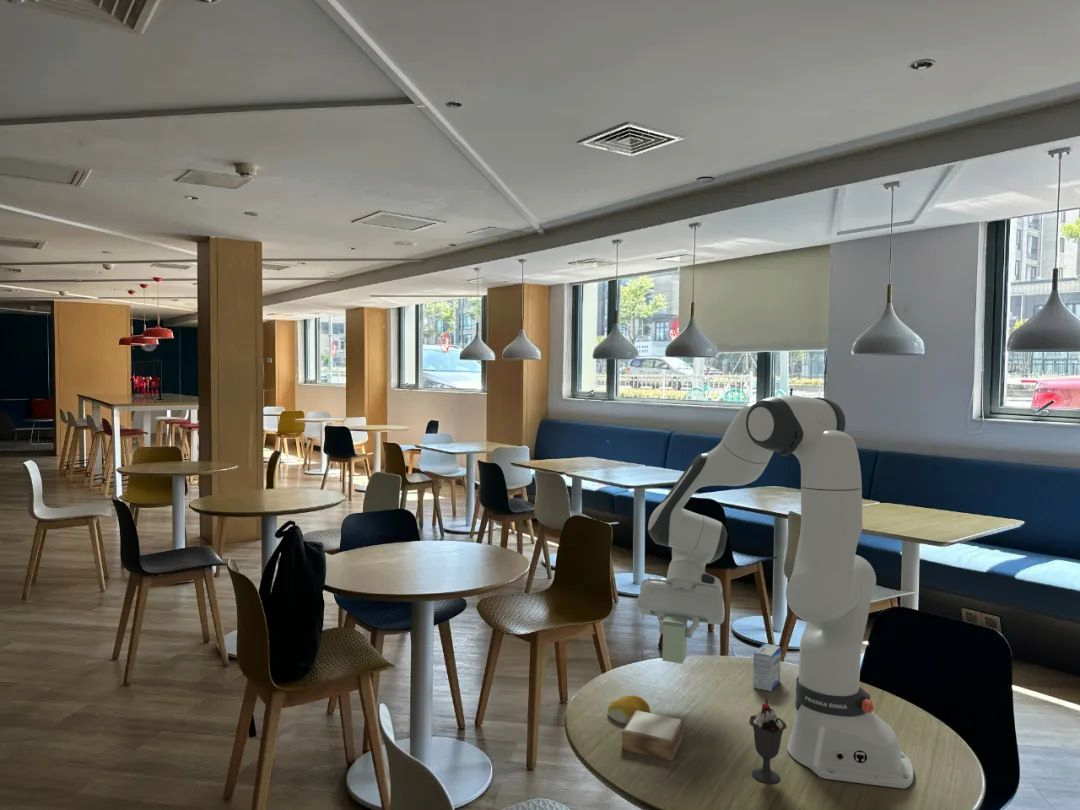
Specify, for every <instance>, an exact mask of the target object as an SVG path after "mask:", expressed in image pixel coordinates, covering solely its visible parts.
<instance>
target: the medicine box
mask: <svg viewBox="0 0 1080 810" xmlns="http://www.w3.org/2000/svg"><path fill="white" fill-rule="evenodd" d="M781 653H782V647H781V646H777V645H774V644H769V643H763V644H762V645H761V646H760V647H759V648H758V649H757V650H755V652H753V669H752V670H753V673H752V675H753V676H752V680H753V681H752V687H753V689H757V690H761V689H762V691H765V690H767V691H766V692H769V691H771V692H772V691H773V690H774V689H775V687H776V686H777V685H778V684H779V682H780V681H781V655H782V654H781ZM773 688H774V689H773Z"/></svg>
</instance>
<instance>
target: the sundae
mask: <svg viewBox="0 0 1080 810" xmlns="http://www.w3.org/2000/svg"><path fill="white" fill-rule="evenodd" d="M762 694H763V696H764V697H765V703H764V704H762V705H761V709H760V710H759V711H758V712H757V714H755V715H751V716H750V717H749V720H748V721H749V722H748V723H749V725H750V726H751V727H752V729H753V736H754V747H755V750H756V753H757V754H758V755H759V756H760V757H761V758H762V759H763V763H762V768H761V767H760V768H756V769H754V770H753V771H752V772H751V775H752V777H753V778H754V779H755V780H756V781H757V782H760V783H764V784H767V785H770V784H771V785H772V784H777V783H778V782H780V780H781V777H780V775H779V774H778V773H777V772H776V771H774V770H771V760H772V759H773V758H775V757H776V756H777V755H778V754H779V751H780V747H781V742H782V738H783V737H782V736H783V733H784V730H786V729H787V728H788V726H787V724H786V722H785V721H784V720H783V719H782V718H779V717H778V716H777V713H776V711H774V709H772V708H771V706H770V705H769V703H768V698H767V696H766V692H764V691H763V693H762Z"/></svg>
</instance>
